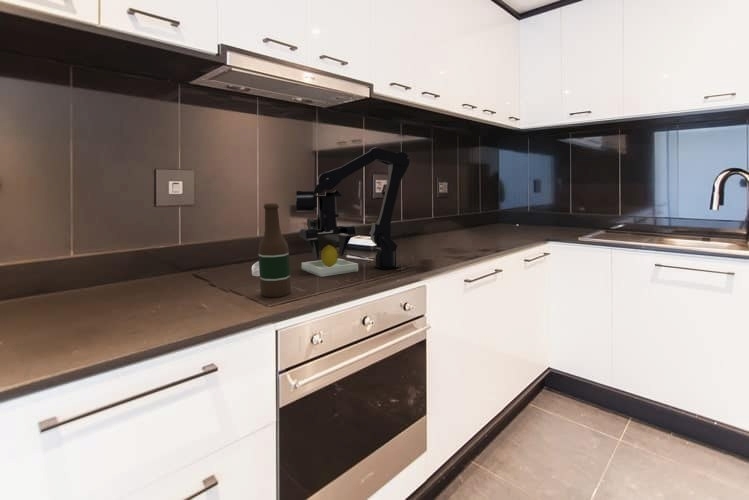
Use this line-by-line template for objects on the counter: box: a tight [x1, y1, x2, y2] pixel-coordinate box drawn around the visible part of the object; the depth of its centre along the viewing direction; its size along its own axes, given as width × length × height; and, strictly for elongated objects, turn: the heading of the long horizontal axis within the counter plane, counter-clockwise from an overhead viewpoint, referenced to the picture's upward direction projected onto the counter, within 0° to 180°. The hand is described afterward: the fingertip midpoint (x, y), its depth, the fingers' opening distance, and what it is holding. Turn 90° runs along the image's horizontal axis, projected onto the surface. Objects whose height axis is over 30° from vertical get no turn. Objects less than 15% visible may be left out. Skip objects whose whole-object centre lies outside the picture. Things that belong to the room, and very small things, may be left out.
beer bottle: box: [258, 202, 292, 298], centre depth 107 cm, size 8×8×24 cm
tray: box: [301, 257, 359, 278], centre depth 138 cm, size 14×14×2 cm
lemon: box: [320, 244, 339, 267], centre depth 137 cm, size 6×6×8 cm
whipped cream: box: [251, 260, 260, 277], centre depth 133 cm, size 8×7×5 cm
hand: (329, 257), depth 137 cm, fingers open, 9 cm apart
